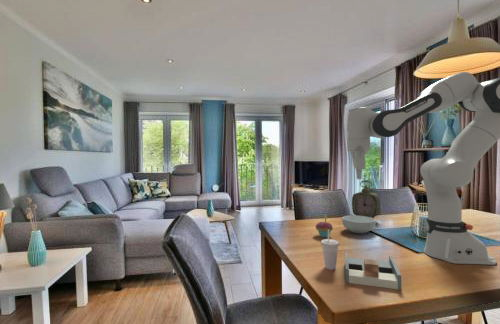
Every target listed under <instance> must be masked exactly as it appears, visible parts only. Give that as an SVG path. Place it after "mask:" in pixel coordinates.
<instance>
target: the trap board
mask: <svg viewBox="0 0 500 324" xmlns="http://www.w3.org/2000/svg"><path fill="white" fill-rule="evenodd" d="M344 254H345V256H344V257H345V258H344V259H345V260H344V261H345V264H344V265H345V283H346V284H353V285H354V284H355V285H361V286H369V287H375V288H376V287H379V288H382V289H383V288H386V289H393V290H399V291H400V290H402V274H401V271H400V270H399V268H398V265H397V263H396V261H395V259H394V256H393V255H389V256H388V260H379V259H376V260H377V262H378V265H379V278H378V277H369V276H365V274H364V259H365V258H362V257H361V258H360V257H359V258H358V257H350V256H349V251H345V253H344ZM369 260H373V259H371V258H369Z"/></svg>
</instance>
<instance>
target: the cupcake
mask: <svg viewBox="0 0 500 324" xmlns="http://www.w3.org/2000/svg"><path fill="white" fill-rule="evenodd" d="M327 218H328V217H327V214H325V216H324V221H320V222H317V223H316V225H315V230H317V232H318V234H319V236H320V237H321V238H328V230H329V237H330V236H331V232H332V231H333V229H334V227H333V225H332V223H329V222H327Z"/></svg>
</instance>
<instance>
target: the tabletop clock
mask: <svg viewBox="0 0 500 324" xmlns="http://www.w3.org/2000/svg"><path fill="white" fill-rule="evenodd" d="M362 183H369V184H370V185H369V186H367V185H362ZM359 186H360V187H362V189H361V190H360V191H358V192H356V193H354V194H352V198H351V209H352V213H353V215H354V216H366V217H370V218H373V219H375V217H377V216H378V215H379V213H380V210H381V199H380V195H379V194H378V193H377V192H372V191H371V189H370V188H371V187H372V186H373V184H372V182H371V181H369V180H363V181H360V183H359Z"/></svg>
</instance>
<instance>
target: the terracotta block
mask: <svg viewBox="0 0 500 324" xmlns="http://www.w3.org/2000/svg"><path fill="white" fill-rule="evenodd" d="M363 259H364V274H365V276H369V277H378V278H379V265H378V262H377V260H378V259H372V260H369V259H370V258H369V259H368V258H363Z"/></svg>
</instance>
